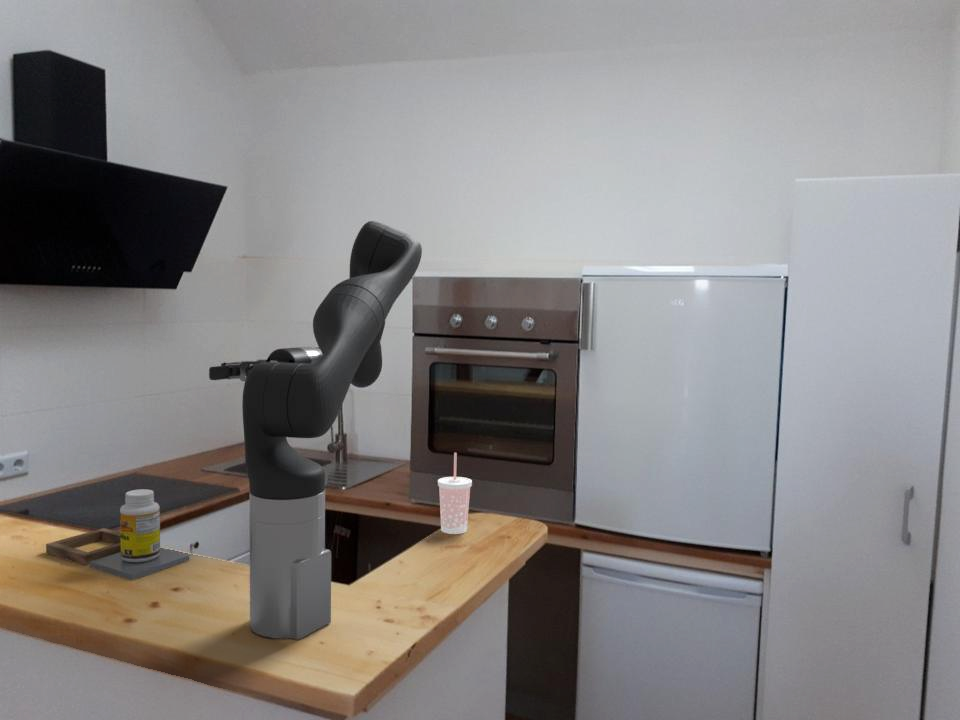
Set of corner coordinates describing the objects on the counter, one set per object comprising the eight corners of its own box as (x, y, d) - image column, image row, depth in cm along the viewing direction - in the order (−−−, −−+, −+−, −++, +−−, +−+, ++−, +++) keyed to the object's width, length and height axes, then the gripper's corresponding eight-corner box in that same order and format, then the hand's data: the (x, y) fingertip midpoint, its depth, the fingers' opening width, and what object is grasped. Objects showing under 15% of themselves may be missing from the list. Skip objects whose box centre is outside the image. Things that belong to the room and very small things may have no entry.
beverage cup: (452, 522, 145) (453, 447, 143) (478, 529, 141) (479, 452, 140) (429, 530, 140) (430, 452, 139) (456, 537, 136) (457, 457, 135)
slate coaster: (189, 560, 122) (189, 555, 122) (132, 580, 113) (132, 574, 113) (147, 548, 127) (147, 543, 127) (89, 566, 118) (89, 561, 118)
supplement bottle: (118, 555, 121) (116, 490, 120) (156, 549, 124) (155, 486, 123) (123, 566, 116) (122, 498, 116) (163, 560, 119) (162, 494, 119)
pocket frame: (143, 547, 127) (142, 538, 127) (85, 565, 119) (85, 555, 119) (104, 536, 132) (103, 528, 132) (46, 553, 124) (46, 544, 124)
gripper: (269, 345, 145) (198, 350, 131) (328, 349, 138) (260, 355, 124) (269, 385, 146) (198, 394, 132) (328, 392, 139) (260, 402, 125)
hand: (228, 375), depth 128 cm, fingers open, 8 cm apart
